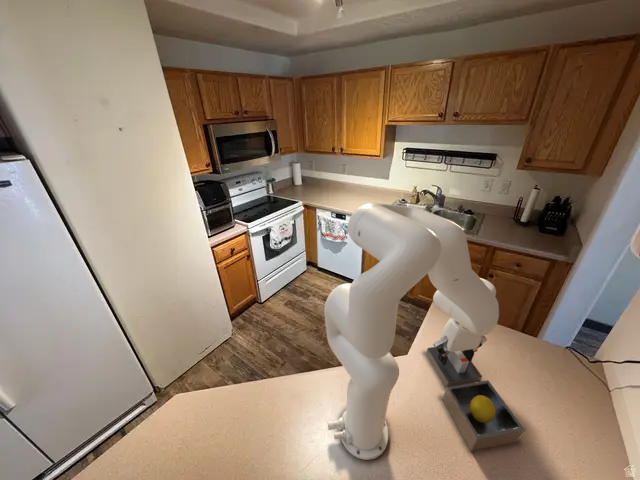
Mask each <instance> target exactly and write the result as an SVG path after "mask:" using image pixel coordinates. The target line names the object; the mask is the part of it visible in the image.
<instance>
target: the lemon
mask: <svg viewBox="0 0 640 480" xmlns="http://www.w3.org/2000/svg"><path fill="white" fill-rule="evenodd" d="M470 411H471V414H472V416H473V417H474V418H475V419H476V420H478V421H479V422H482V423H489V422H491V421H492V420H493V419H494V416H495V406H494V404H493V402H492V401H491V400H490V399H489V398H487V397H485V396H482V395H478V396H476V397H474V398H473V399H472V400H471V402H470Z"/></svg>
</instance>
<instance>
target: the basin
mask: <svg viewBox="0 0 640 480" xmlns="http://www.w3.org/2000/svg"><path fill="white" fill-rule="evenodd" d="M478 395H482V396H485V397H487V398H489V399H490V400H491V401H492V402H493V404H494V406H495V416H494V419H493V420H492V421H491V422H489V423H482V422H479V421H478V420H476V419H475V418H474V417H473V416H472V414H471V411H470V402H471V400H472V399H473V398H474V397H476V396H478ZM442 401H443V403H444V405H445V406H446V409H447V410H448V412H449V414H450V416H451V417H452V419H453V421H454V423H455V425H456V426H457V429H458V431H459V432H460V434H461V435H462V438H463V440H464V441H465V443H466V445H467V447H468V448H469V450H470V452H472V451H477V450H483V449H488V448H493V447H497V446H502V445H503V446H504V445H507V444H513V443H517V442H518V441H519V440H520V438H521V437H522V435H523V434H524V432H525V431H526V428H525V427H524V426H523V425H522V423H521V422H520V421H519V419H518V418H517V417H516V415H515V414H514V413H513V411H512V410H511V409H510V407H509V406H508V405H507V403H506V402H505V401H504V399H503V398H502V397H501V395H500V393H499V392H498V391H497V390H496V389H495V388H494V386H493V384H492V383H491V382H490V381H489V380H488V379H487V380H481V381H480V382H475V383H469V384H463V385H457V386H451V387H447V388H446V387H445V391H444V394H443V397H442Z"/></svg>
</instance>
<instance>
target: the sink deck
mask: <svg viewBox="0 0 640 480" xmlns="http://www.w3.org/2000/svg"><path fill="white" fill-rule="evenodd" d="M461 352H462V353H463V352H464V350H463V351H461ZM425 354H426V356H427V358H428V360H429V362H430V363H431V366H433V368H434V370H435V372H436V374H437V375H438V377H439V379H440V380H441V382H442V384H443V386H444V387H445V389H446V388H447V387H451V386H457V385H463V384H469V383H475V382H481V381H482V379H483V375H482V374H481V372H480V371H479V369H477V367H476V366H475V364H474V363H473V361H469V363H468V365H467V368H466V370H465V372H464V373H457V371H456V370H455V368H454V367H453V365H452V363H451V362H450V360H449V359H447V362H446V365H443V364H442V363H441V361H439V359H438V355H439V352H438V351H437V350H436V348H435V347H434V346H431V347H427V349H426V351H425ZM464 356H465V355H464ZM467 360H468V359H467Z"/></svg>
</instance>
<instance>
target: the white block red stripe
mask: <svg viewBox="0 0 640 480" xmlns="http://www.w3.org/2000/svg"><path fill="white" fill-rule="evenodd" d="M444 350H445V351H446V350H447V348H446V347H445V348H444ZM447 356H448V359H449V360H450V362H451V363H452V365H453V367H454V368H455V370H456V371H457V373H464V372H465V370H466V368H467V365H468V363H469V361H468V360H467V358H466V357H465V356H464V354H463V353H462V352H461V351H456V352H450V353H449V354H448V355H447Z"/></svg>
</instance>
